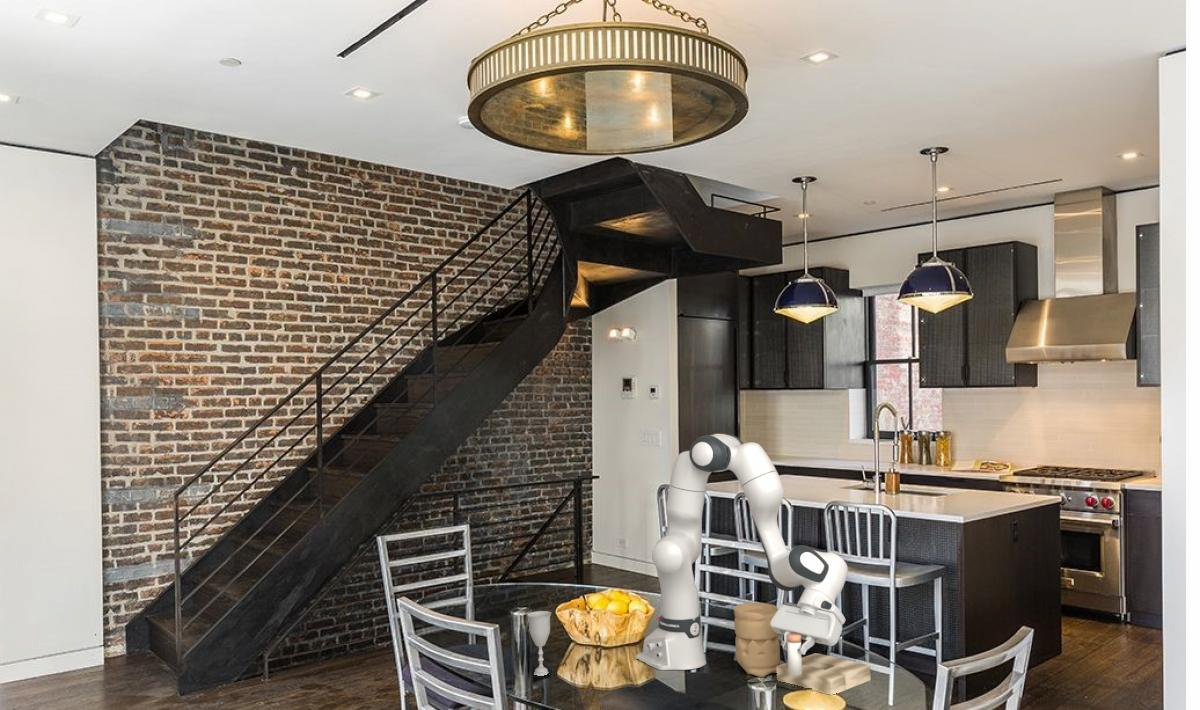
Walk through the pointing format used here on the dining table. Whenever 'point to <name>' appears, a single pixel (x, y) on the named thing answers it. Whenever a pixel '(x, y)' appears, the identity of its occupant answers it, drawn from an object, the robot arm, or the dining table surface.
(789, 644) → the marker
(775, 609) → the container
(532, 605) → the dining table surface
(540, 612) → the chalice
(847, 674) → the socket block
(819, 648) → the supplement bottle
